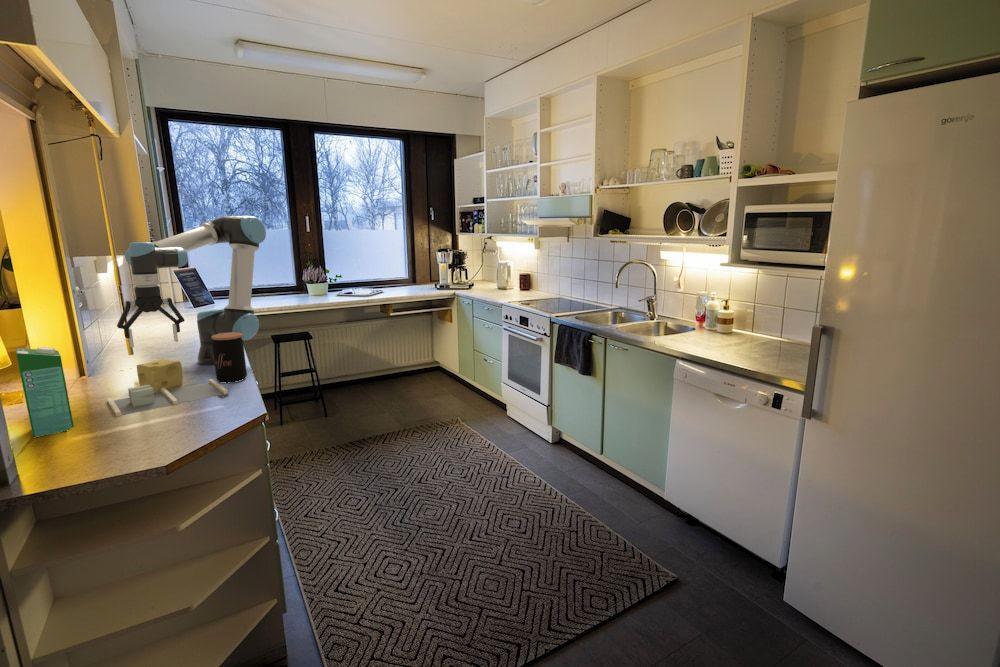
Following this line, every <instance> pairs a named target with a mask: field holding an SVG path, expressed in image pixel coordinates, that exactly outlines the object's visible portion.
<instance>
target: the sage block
mask: <svg viewBox="0 0 1000 667" xmlns="http://www.w3.org/2000/svg"><path fill="white" fill-rule="evenodd" d="M127 392H128V398H130V403H131V404H132V406H133V407H136V406H141V405H146V404H151V403H155V399H154V393H155V391H153V388H152V387H151V386H150V385H144V386H140V385H138V386H133V387H128V388H127Z"/></svg>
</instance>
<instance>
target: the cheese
mask: <svg viewBox="0 0 1000 667" xmlns="http://www.w3.org/2000/svg"><path fill="white" fill-rule="evenodd" d="M136 373H137V378H138V386H144V385H150V386H151V387H152V388H153V392H154V393H156V392H161V388H166V389H167V390H168V389H169V388H170V389H171V388H173V387H177V386H181V385H183V380H184V379H183V378H184V377H183V376H184V375H183V374H184V373H183V367H182V363H181V361H180V360H169V359H163V358H162V359H157V360H153V361H149V362H146V363H145V362H144V363H139V364H136Z"/></svg>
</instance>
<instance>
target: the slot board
mask: <svg viewBox="0 0 1000 667" xmlns="http://www.w3.org/2000/svg"><path fill="white" fill-rule="evenodd" d="M223 396H226V397H228V396H229V392H228V389H227V388H226V387H224V386H223V385H221V384H220V383H218V382H217V380H216V381H215V379H213V378H209V379H208V382H205V383H200V384H194V385H187V386H183V387H179V388H174V389H168V388H167V389H166V388H161V390H160V391H157V392H154V399H155V403H151V404H146V405H141V406H136V407H133V406H132V404H131V403H130V398H129V397H124V398H120V399H113V397H107V398H106V400H107V402H108V404H109V406H110V408H111V410H112V412H113V413H114V415H115V416H116V417H120V416H126V415H130V414H136V413H141V412H144V411H145V412H146V411H149V410H150V411H151V410H155V409H159V408H164V407H168V406H175V405H178V404H179V405H180V404H183V403H184V404H185V403H189V402H193V401H198V400H203V399H208V398H212V397H213V398H214V397H217V398H219V397H221V398H224V397H223Z"/></svg>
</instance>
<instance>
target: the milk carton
mask: <svg viewBox="0 0 1000 667" xmlns="http://www.w3.org/2000/svg"><path fill="white" fill-rule="evenodd" d="M15 355H16V359H17V360H16V361H17V364H18V369H19V375H20V380H21V383H22V384H21V385H22V389H23V394H24V399H25V405H26V408H27V413H28V418H29V424H30V428H31V435H32V438H33V437H38V436H42V435H47V436H49V435H48V434H52V435H54V434H53V433H57V434H59V433H58V432H61V433H64V432H63V431H66V432H68V431H67V430H69V428H75V425H74V421H73V415H72V409H71V404H70V399H69V395H68V394H69V392H68V387H67V383H66V382H67V381H66V378H65V372H64V367H63V362H62V361H63V360H62V356H61V354H60V352H59V350H56V348H53V347H46V346H44V347H43V346H40V347H39V346H38V347H37V348H36V349H35V348H20V347H16V348H15ZM69 431H70V430H69ZM38 438H39V437H38Z"/></svg>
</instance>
